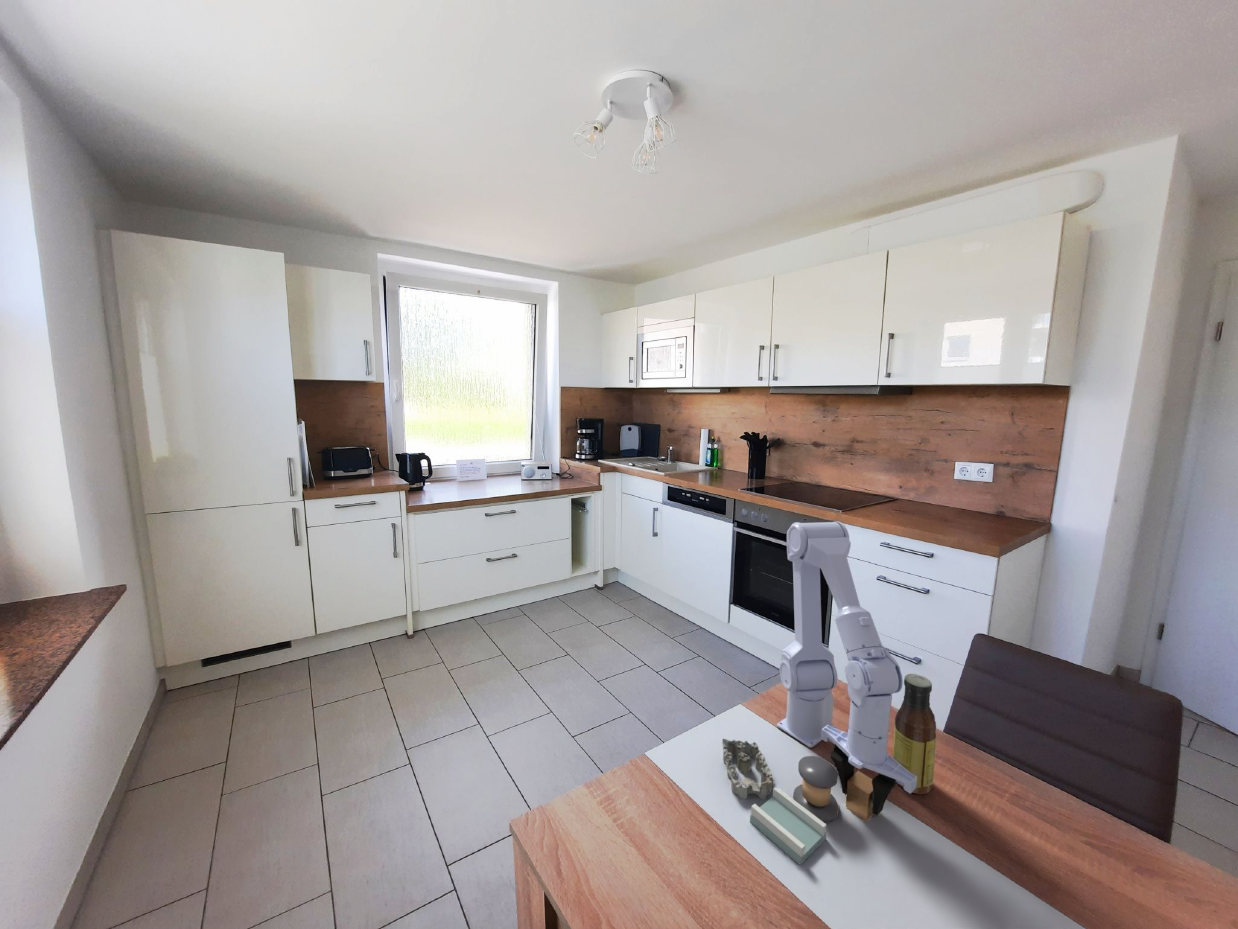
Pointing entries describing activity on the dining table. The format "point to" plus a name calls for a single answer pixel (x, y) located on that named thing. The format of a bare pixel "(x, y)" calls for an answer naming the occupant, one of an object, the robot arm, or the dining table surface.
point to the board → (789, 825)
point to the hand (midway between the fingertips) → (861, 801)
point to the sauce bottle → (916, 732)
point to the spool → (817, 788)
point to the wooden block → (860, 795)
